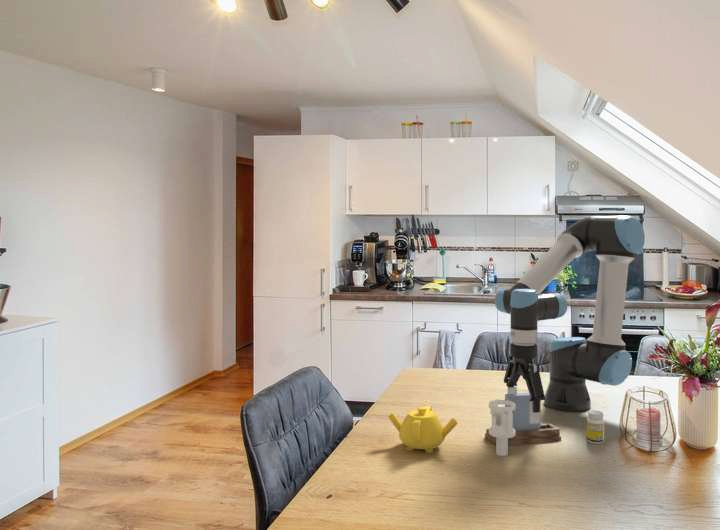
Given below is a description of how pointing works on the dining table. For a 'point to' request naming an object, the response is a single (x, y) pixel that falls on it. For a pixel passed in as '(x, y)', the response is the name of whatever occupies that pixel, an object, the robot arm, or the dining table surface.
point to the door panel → (522, 411)
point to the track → (531, 435)
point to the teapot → (422, 429)
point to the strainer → (502, 424)
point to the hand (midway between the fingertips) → (522, 415)
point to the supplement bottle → (595, 427)
